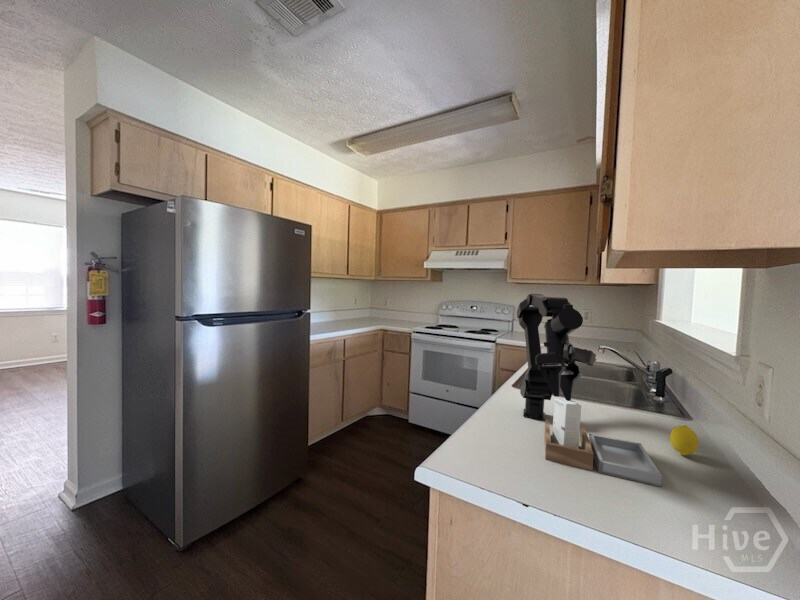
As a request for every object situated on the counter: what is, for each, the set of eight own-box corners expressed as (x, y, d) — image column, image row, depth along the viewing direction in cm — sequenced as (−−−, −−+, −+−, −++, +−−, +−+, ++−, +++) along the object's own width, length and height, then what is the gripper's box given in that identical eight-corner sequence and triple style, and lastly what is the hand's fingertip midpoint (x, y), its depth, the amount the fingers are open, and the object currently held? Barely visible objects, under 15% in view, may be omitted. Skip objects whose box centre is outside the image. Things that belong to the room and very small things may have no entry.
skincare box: (551, 442, 87) (552, 397, 87) (567, 443, 87) (568, 398, 88) (563, 451, 80) (564, 403, 81) (580, 452, 81) (581, 404, 81)
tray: (588, 442, 87) (589, 433, 87) (639, 453, 83) (640, 443, 83) (598, 472, 73) (599, 461, 73) (660, 487, 68) (661, 475, 68)
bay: (544, 433, 92) (545, 420, 92) (583, 441, 88) (584, 427, 88) (545, 459, 78) (546, 443, 78) (592, 470, 74) (593, 453, 74)
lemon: (670, 447, 86) (672, 419, 86) (697, 456, 82) (700, 426, 82) (667, 454, 83) (670, 424, 82) (696, 463, 79) (699, 432, 78)
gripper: (579, 327, 76) (587, 394, 70) (599, 344, 88) (607, 403, 82) (532, 332, 83) (536, 393, 77) (557, 348, 95) (562, 402, 90)
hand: (562, 398), depth 82 cm, fingers open, 9 cm apart
